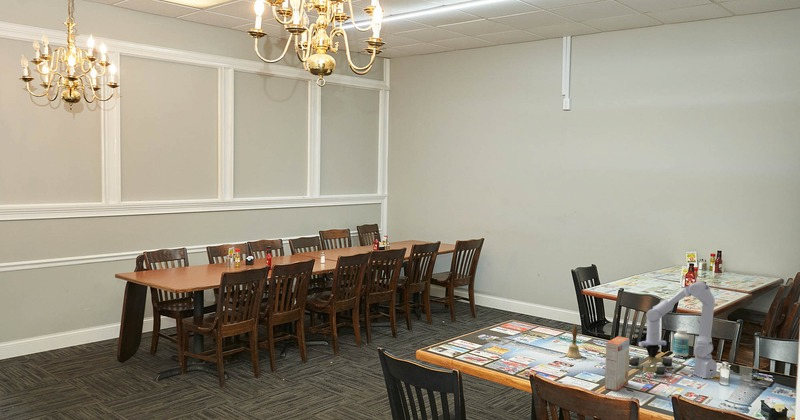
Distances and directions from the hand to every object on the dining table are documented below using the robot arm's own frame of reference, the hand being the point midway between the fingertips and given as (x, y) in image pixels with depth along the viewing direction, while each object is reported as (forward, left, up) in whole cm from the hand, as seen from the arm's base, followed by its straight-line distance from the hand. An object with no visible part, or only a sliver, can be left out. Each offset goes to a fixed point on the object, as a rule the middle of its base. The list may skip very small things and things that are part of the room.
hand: (651, 359), depth 318 cm
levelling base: (-8, +3, -2) cm, 9 cm away
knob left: (-16, +10, -1) cm, 19 cm away
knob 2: (-4, -2, -1) cm, 5 cm away
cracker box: (-24, +36, -2) cm, 44 cm away
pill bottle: (+11, -26, -2) cm, 28 cm away
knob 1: (+1, +13, -1) cm, 14 cm away
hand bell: (+21, +31, -3) cm, 38 cm away
